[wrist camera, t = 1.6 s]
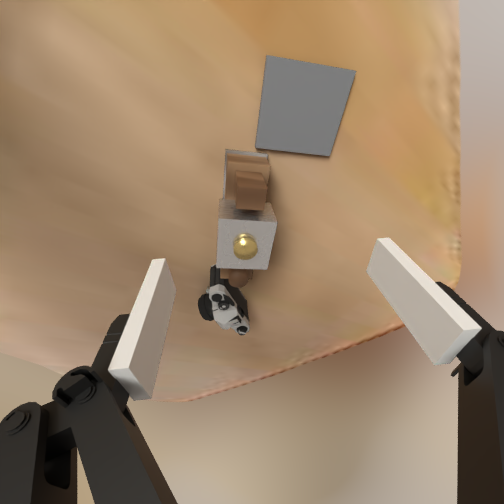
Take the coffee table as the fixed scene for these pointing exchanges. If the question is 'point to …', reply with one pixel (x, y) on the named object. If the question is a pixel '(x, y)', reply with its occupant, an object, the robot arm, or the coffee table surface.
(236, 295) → the camera
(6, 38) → the coffee table surface
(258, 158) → the plane body
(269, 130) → the felt mat
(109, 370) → the robot arm
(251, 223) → the grey gold knob block
